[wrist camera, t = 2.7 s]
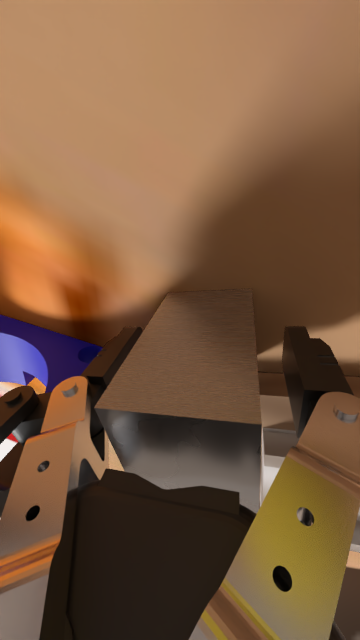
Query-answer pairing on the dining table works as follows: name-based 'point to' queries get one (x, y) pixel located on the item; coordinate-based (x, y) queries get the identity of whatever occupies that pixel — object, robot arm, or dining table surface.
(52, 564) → the robot arm
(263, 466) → the door panel
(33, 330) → the cable clip
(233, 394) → the hinge block
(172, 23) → the dining table surface
